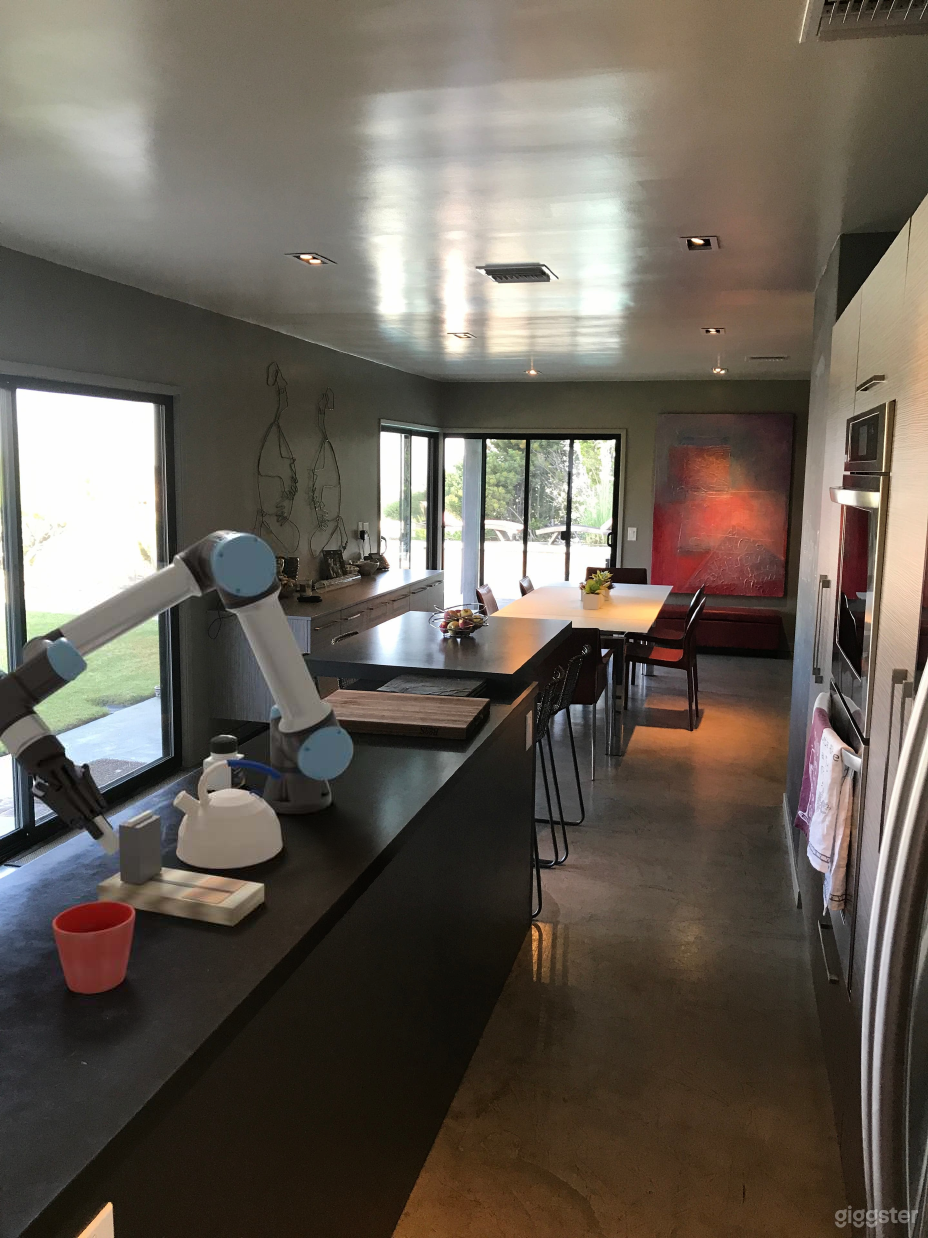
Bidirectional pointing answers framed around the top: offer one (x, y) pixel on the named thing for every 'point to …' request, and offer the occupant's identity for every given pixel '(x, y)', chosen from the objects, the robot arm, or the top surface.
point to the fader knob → (140, 848)
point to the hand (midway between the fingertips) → (116, 849)
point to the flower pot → (94, 944)
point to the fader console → (187, 895)
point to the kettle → (227, 824)
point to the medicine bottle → (227, 776)
